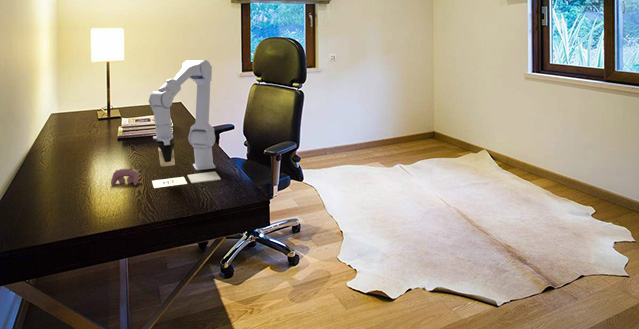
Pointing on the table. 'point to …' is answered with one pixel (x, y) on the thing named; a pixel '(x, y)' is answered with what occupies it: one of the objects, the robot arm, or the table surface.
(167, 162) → the maple block
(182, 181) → the cream card
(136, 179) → the video game controller
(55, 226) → the table surface
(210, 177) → the grey mat
